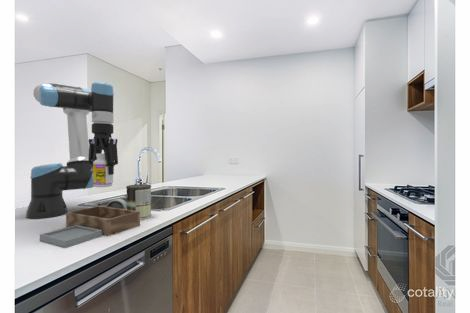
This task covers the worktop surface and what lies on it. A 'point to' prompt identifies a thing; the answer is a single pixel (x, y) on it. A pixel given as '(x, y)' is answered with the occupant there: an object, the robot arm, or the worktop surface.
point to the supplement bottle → (100, 171)
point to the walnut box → (104, 219)
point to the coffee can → (139, 199)
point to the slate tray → (70, 235)
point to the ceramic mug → (117, 204)
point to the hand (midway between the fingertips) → (102, 182)
